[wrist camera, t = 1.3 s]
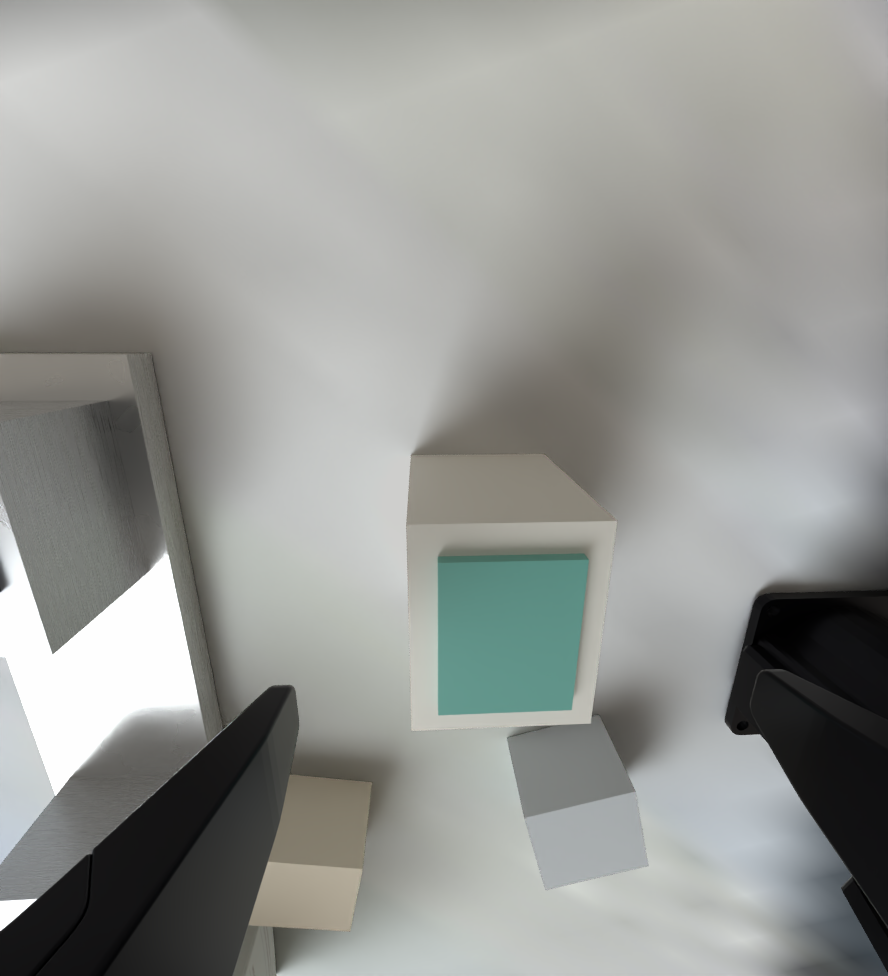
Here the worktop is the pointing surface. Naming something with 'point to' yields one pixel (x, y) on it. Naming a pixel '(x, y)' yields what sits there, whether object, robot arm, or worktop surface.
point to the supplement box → (257, 953)
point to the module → (503, 592)
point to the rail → (144, 628)
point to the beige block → (315, 856)
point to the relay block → (577, 803)
